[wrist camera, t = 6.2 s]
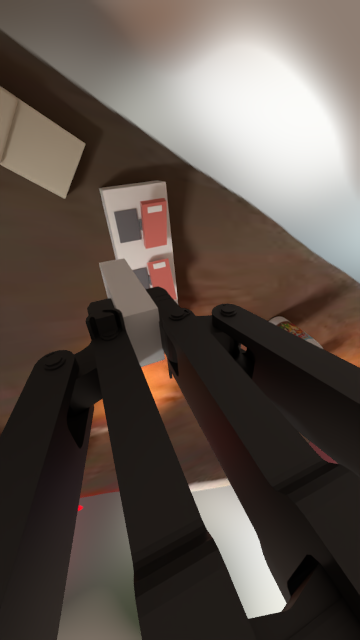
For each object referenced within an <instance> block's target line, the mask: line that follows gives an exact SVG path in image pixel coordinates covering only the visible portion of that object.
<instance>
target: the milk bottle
mask: <svg viewBox="0 0 360 640" xmlns="http://www.w3.org/2000/svg"><path fill="white" fill-rule="evenodd" d="M269 322H271V323H273V324H275V325H276V326H278V327H280V328H282V329H284V330H286V331H288V332H290V333H292V334H294V335H296V336H298V337H300V338H302V339H304V340H306V341H308V342H310V343H312V344H314V345H316V346H318V347H320V348H322V346H321V345H320V344H319V343H318V342H317V341H316V340H314V339H313V338H312V337H310V336H309V335H308V334H306V333H305V332H304V331H302V330H301V329H300V328H298V327H297V326H295V325H294V324H293V323H291V322H290V321H288V320H287V319H285V318H284V317H280V316H278V317H274V318H272V319H271V320H269ZM322 349H323V348H322Z"/></svg>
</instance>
